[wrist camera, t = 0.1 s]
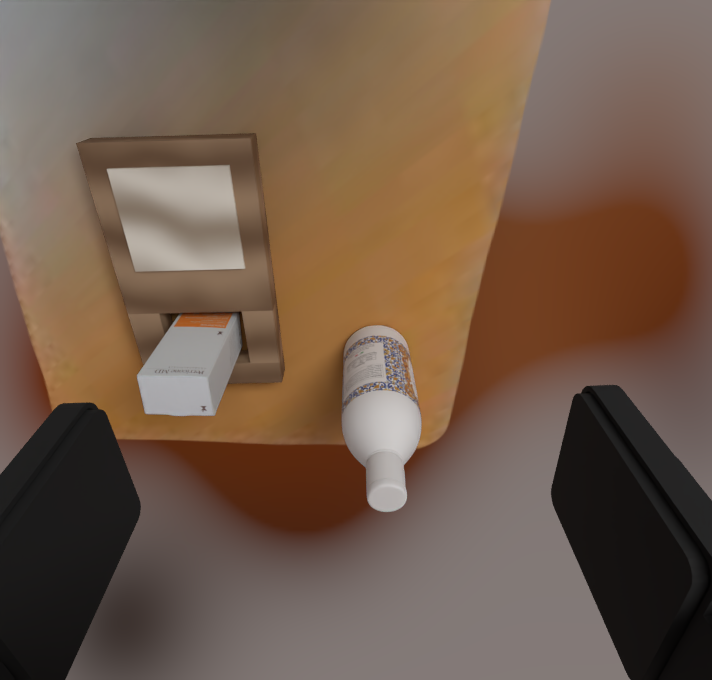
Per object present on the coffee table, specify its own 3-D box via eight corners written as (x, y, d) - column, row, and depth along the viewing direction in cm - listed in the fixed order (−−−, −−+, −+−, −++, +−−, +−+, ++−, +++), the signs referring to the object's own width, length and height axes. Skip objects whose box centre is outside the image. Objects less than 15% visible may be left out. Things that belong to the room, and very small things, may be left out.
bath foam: (407, 376, 54) (433, 529, 37) (345, 378, 54) (341, 532, 37) (408, 321, 50) (437, 463, 33) (342, 324, 51) (336, 466, 33)
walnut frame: (90, 138, 41) (74, 144, 39) (255, 133, 41) (249, 138, 39) (157, 371, 53) (148, 387, 51) (284, 368, 53) (281, 384, 51)
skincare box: (239, 309, 50) (210, 377, 39) (243, 344, 52) (216, 418, 42) (179, 307, 49) (134, 375, 39) (186, 343, 52) (144, 416, 41)
